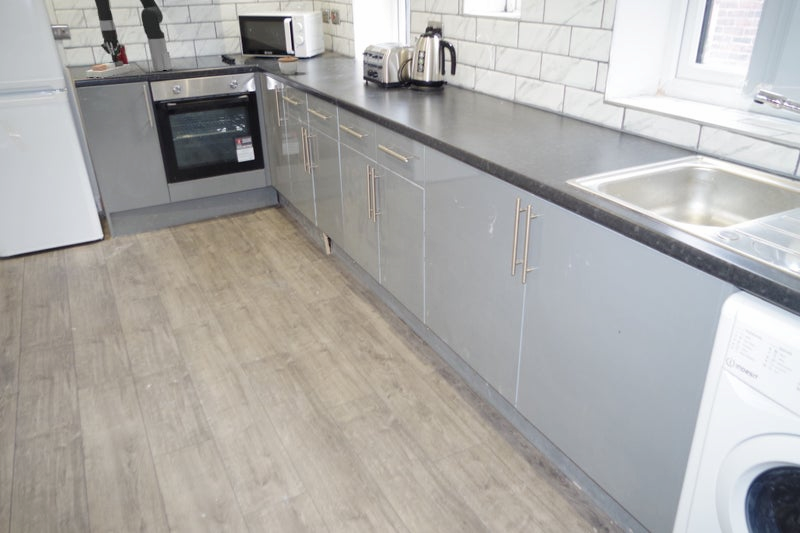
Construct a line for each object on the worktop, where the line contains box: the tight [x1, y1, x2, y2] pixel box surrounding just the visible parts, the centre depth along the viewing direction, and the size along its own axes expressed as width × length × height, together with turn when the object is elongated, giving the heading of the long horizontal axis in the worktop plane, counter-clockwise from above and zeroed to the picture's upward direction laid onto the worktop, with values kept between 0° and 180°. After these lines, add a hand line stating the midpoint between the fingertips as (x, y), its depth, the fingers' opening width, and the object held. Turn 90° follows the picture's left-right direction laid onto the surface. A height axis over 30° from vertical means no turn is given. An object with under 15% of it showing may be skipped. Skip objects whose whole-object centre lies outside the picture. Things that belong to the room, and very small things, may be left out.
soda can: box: [117, 44, 130, 65], centre depth 358 cm, size 7×7×12 cm
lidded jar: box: [277, 55, 299, 75], centre depth 323 cm, size 11×11×9 cm
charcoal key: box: [108, 61, 123, 67], centre depth 339 cm, size 5×5×4 cm
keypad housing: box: [85, 64, 132, 78], centre depth 334 cm, size 10×24×4 cm, turn 166°
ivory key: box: [100, 62, 115, 69], centre depth 333 cm, size 5×5×4 cm
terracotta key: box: [91, 64, 107, 71], centre depth 327 cm, size 5×5×4 cm
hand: (115, 61), depth 338 cm, fingers closed
